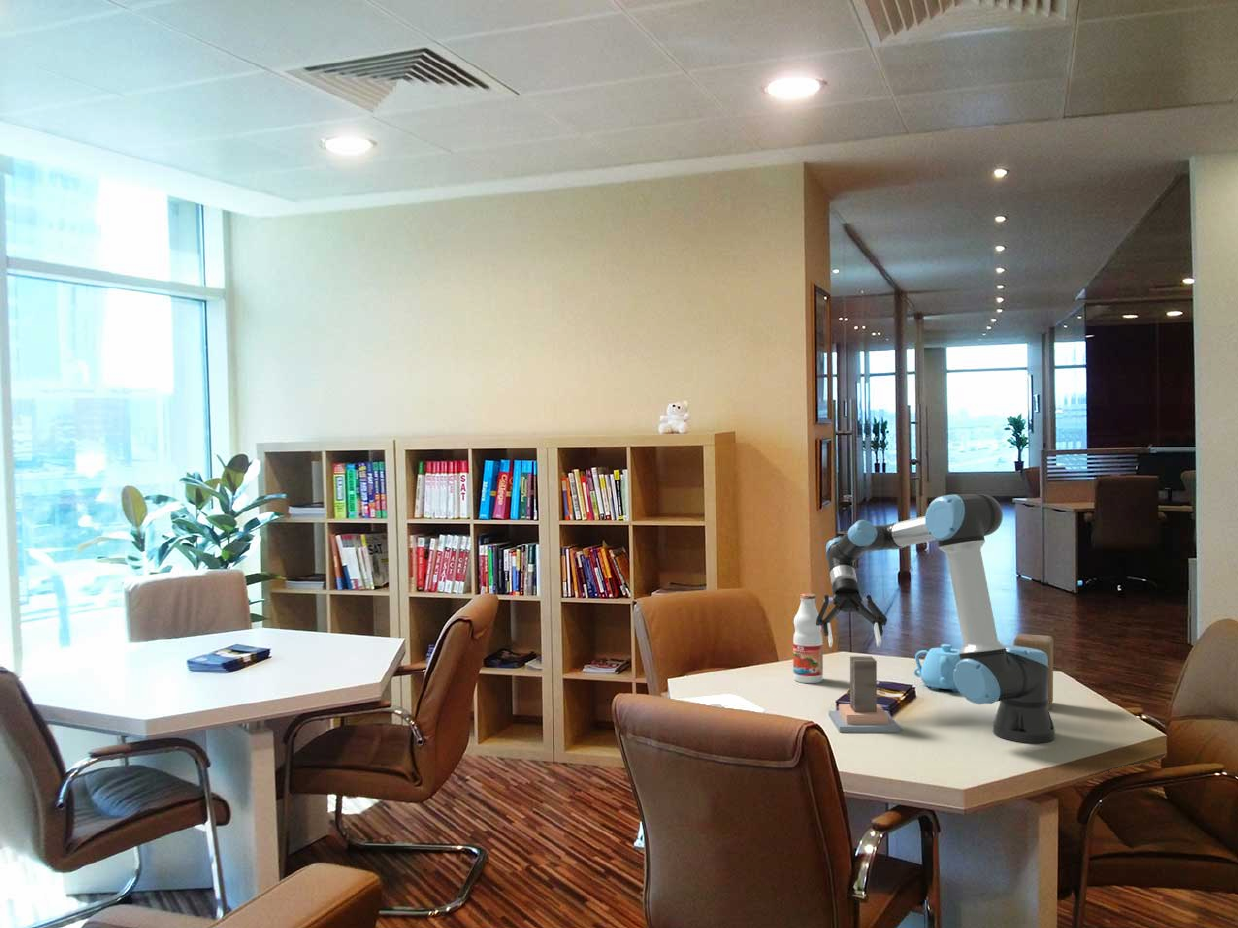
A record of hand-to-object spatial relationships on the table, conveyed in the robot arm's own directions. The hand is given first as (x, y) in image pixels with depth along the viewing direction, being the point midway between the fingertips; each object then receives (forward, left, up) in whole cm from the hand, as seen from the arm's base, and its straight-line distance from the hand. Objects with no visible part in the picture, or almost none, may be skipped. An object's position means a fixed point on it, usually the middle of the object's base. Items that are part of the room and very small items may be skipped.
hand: (855, 644), depth 283 cm
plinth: (-9, +2, -20) cm, 22 cm away
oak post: (-9, +2, -16) cm, 18 cm away
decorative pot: (+21, -42, -20) cm, 51 cm away
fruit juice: (+41, -4, -20) cm, 46 cm away
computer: (+11, +38, -21) cm, 44 cm away
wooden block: (-4, -55, -20) cm, 59 cm away
